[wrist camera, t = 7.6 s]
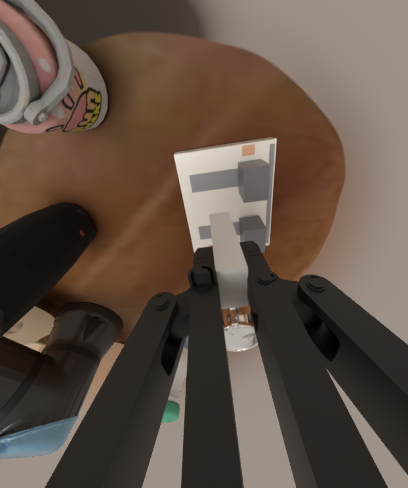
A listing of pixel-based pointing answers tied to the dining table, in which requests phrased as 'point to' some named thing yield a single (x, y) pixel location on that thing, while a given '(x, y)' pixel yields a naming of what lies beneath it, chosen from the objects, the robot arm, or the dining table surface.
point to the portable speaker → (38, 256)
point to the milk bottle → (176, 388)
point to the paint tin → (45, 75)
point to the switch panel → (221, 185)
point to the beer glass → (238, 329)
